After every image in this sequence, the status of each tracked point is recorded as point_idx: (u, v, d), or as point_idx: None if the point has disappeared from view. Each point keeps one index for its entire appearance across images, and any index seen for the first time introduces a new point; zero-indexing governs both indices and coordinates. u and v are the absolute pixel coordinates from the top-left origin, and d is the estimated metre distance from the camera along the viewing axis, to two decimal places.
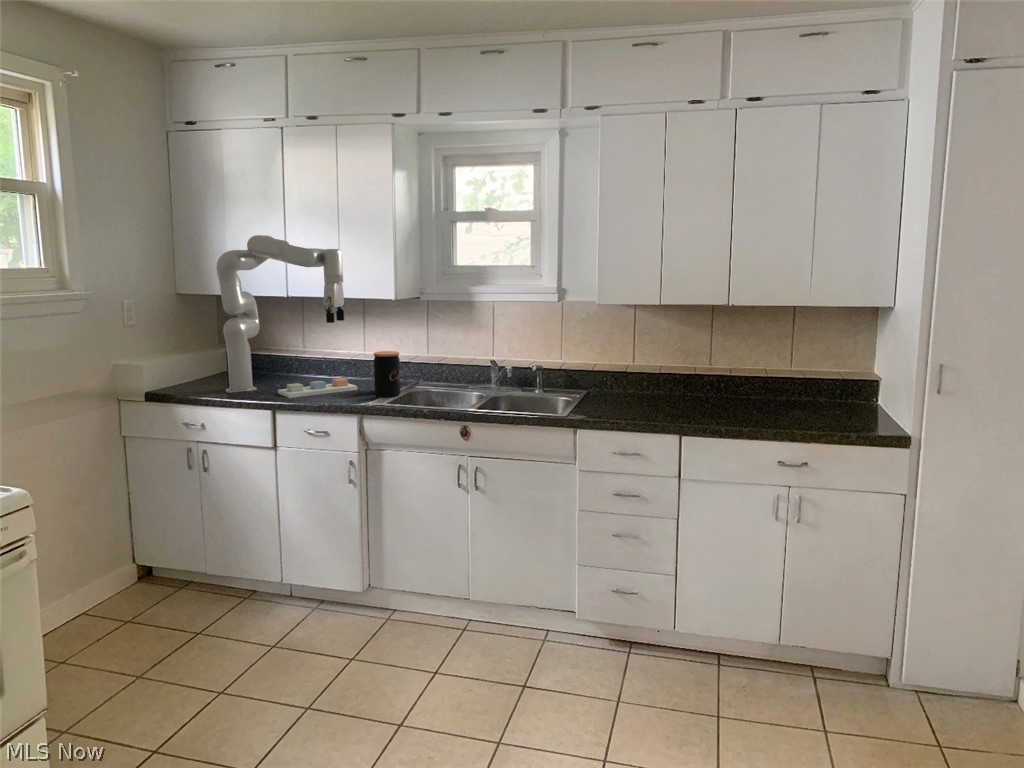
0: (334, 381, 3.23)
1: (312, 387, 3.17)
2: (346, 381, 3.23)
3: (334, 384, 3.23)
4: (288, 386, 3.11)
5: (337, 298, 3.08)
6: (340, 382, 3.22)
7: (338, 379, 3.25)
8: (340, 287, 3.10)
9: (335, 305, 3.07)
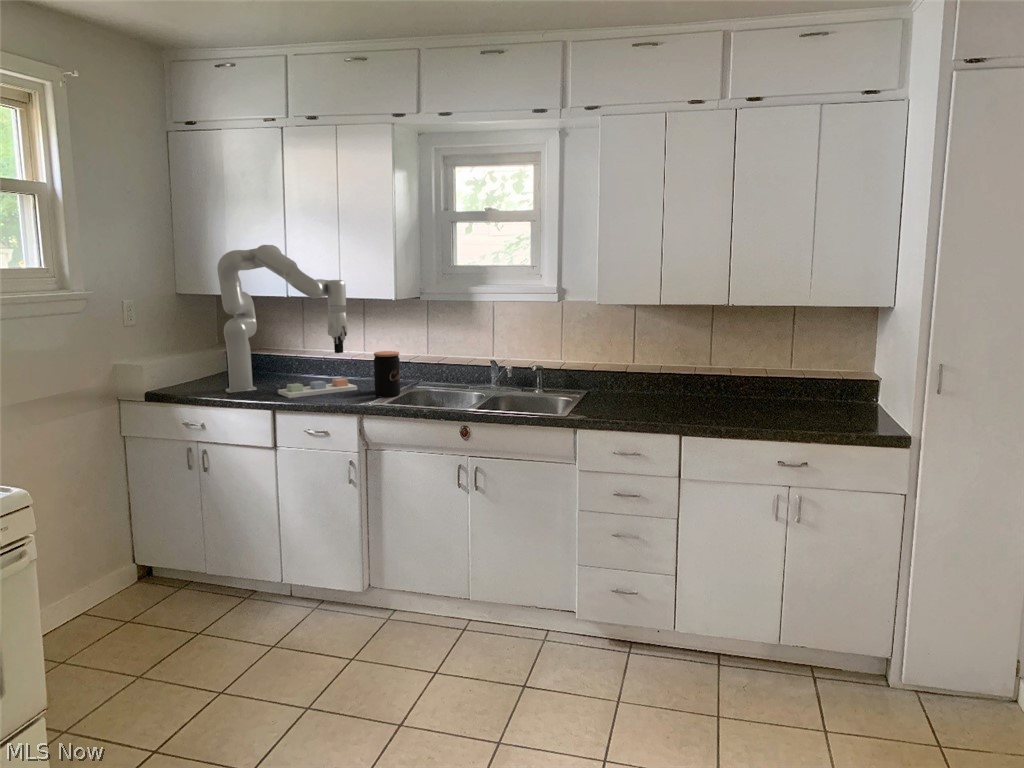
0: (334, 381, 3.23)
1: (312, 387, 3.17)
2: (346, 381, 3.23)
3: (334, 384, 3.23)
4: (288, 386, 3.11)
5: None
6: (340, 382, 3.22)
7: (338, 379, 3.25)
8: None
9: None
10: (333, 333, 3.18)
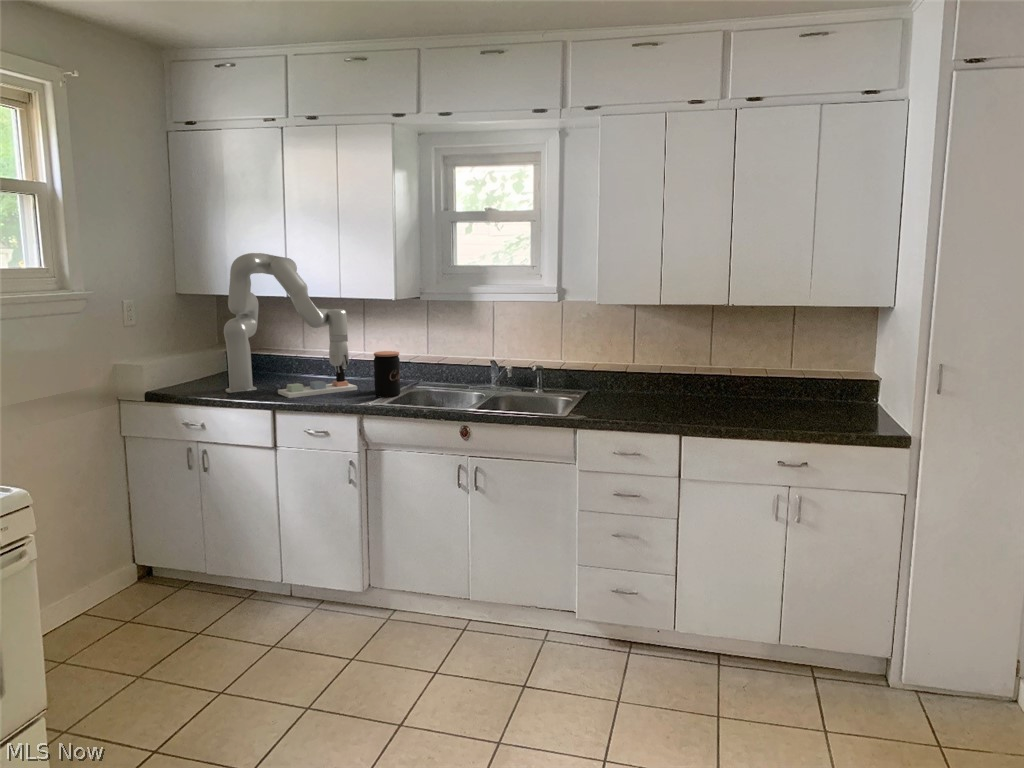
0: (334, 383, 3.23)
1: (312, 387, 3.17)
2: (346, 383, 3.24)
3: None
4: (288, 386, 3.11)
5: None
6: (340, 384, 3.22)
7: None
8: None
9: None
10: (335, 362, 3.20)
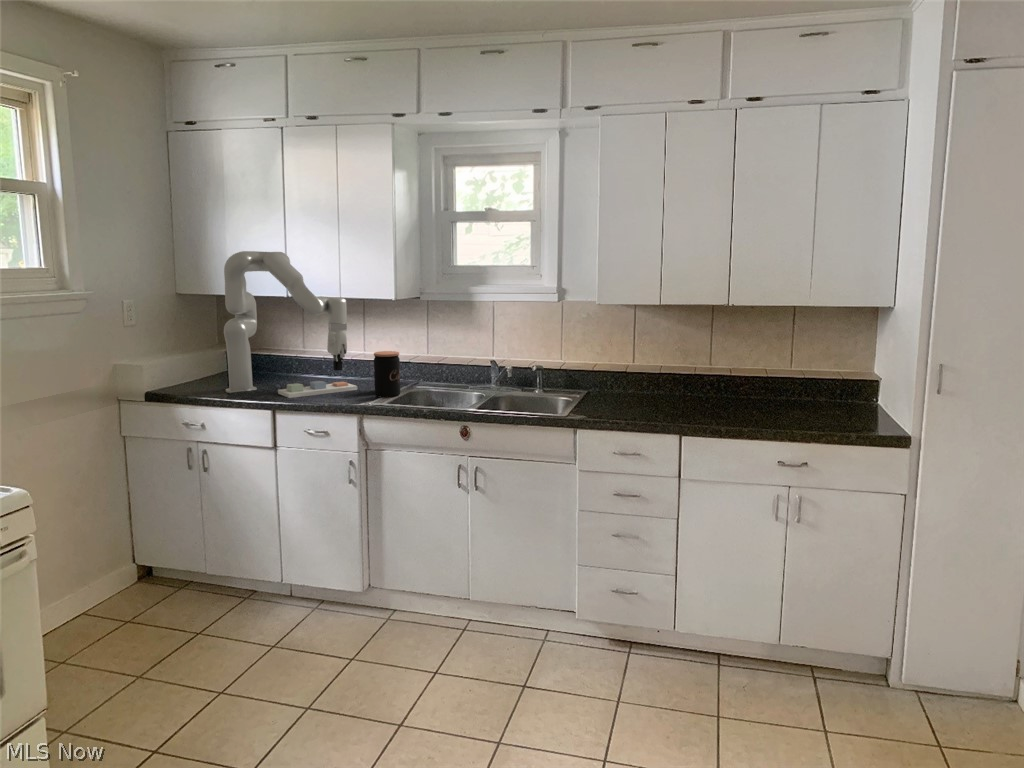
0: (334, 384, 3.23)
1: (312, 387, 3.17)
2: (346, 384, 3.24)
3: None
4: (288, 386, 3.11)
5: None
6: (340, 385, 3.22)
7: (338, 382, 3.25)
8: None
9: None
10: (333, 351, 3.19)
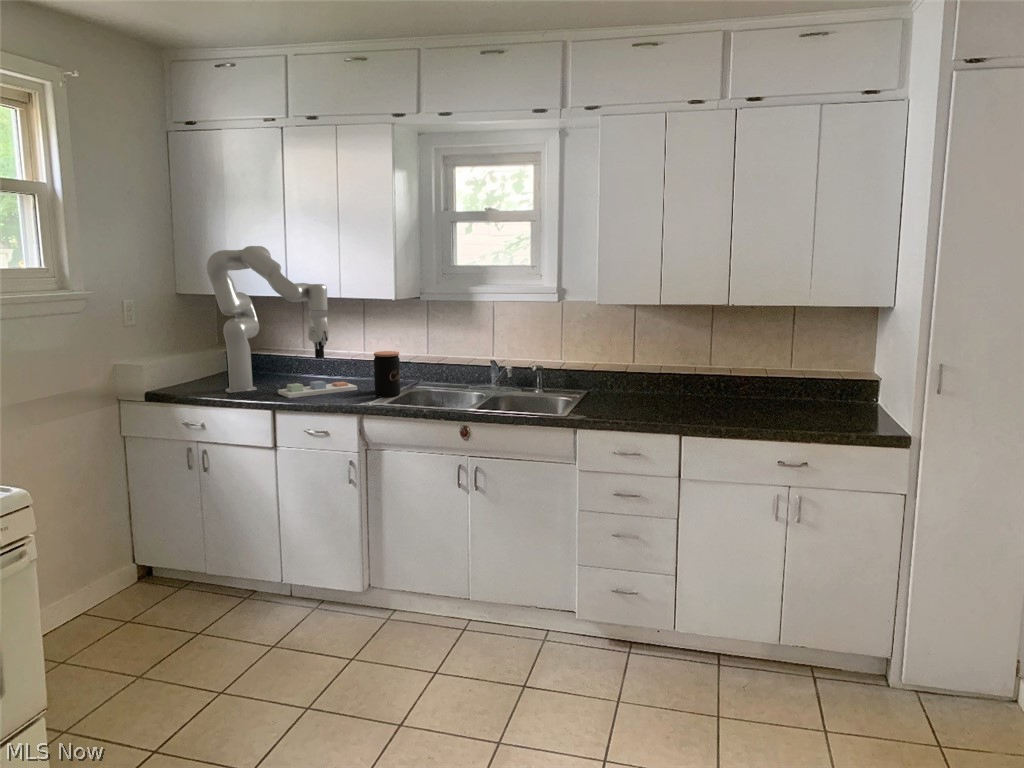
0: (334, 384, 3.23)
1: (312, 387, 3.17)
2: (346, 384, 3.24)
3: None
4: (288, 386, 3.11)
5: None
6: (340, 385, 3.22)
7: (338, 382, 3.25)
8: None
9: None
10: (314, 338, 3.13)
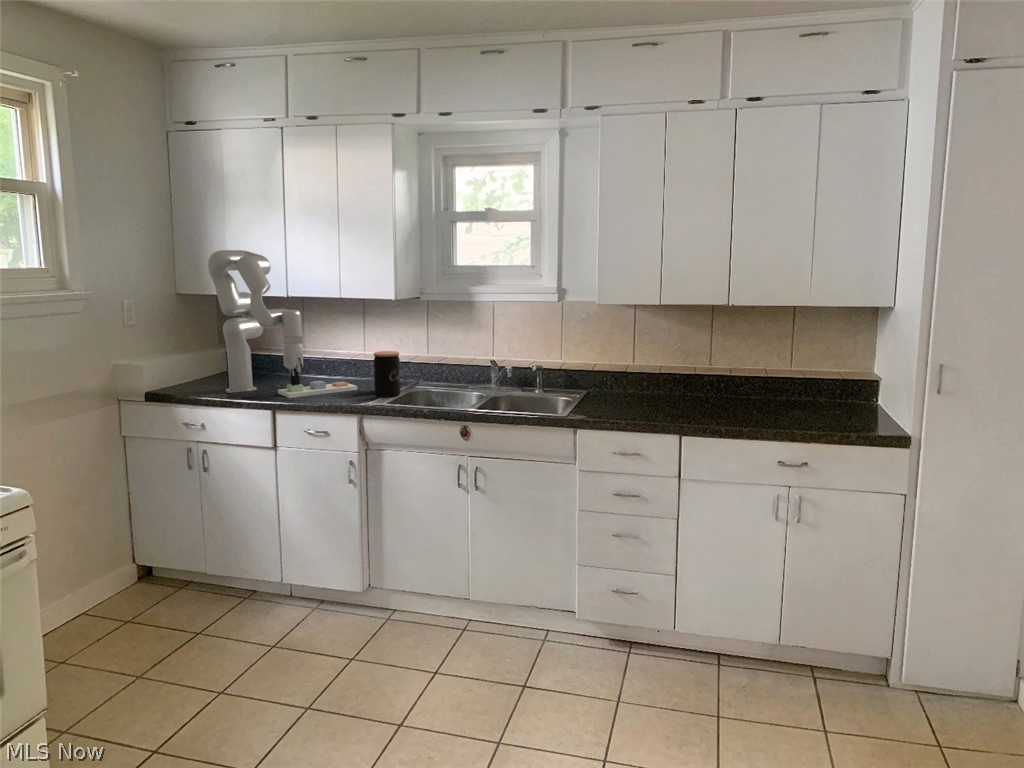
0: (334, 384, 3.23)
1: (312, 387, 3.17)
2: (346, 384, 3.24)
3: None
4: (288, 386, 3.11)
5: None
6: (340, 385, 3.22)
7: (338, 382, 3.25)
8: None
9: None
10: (289, 365, 3.08)
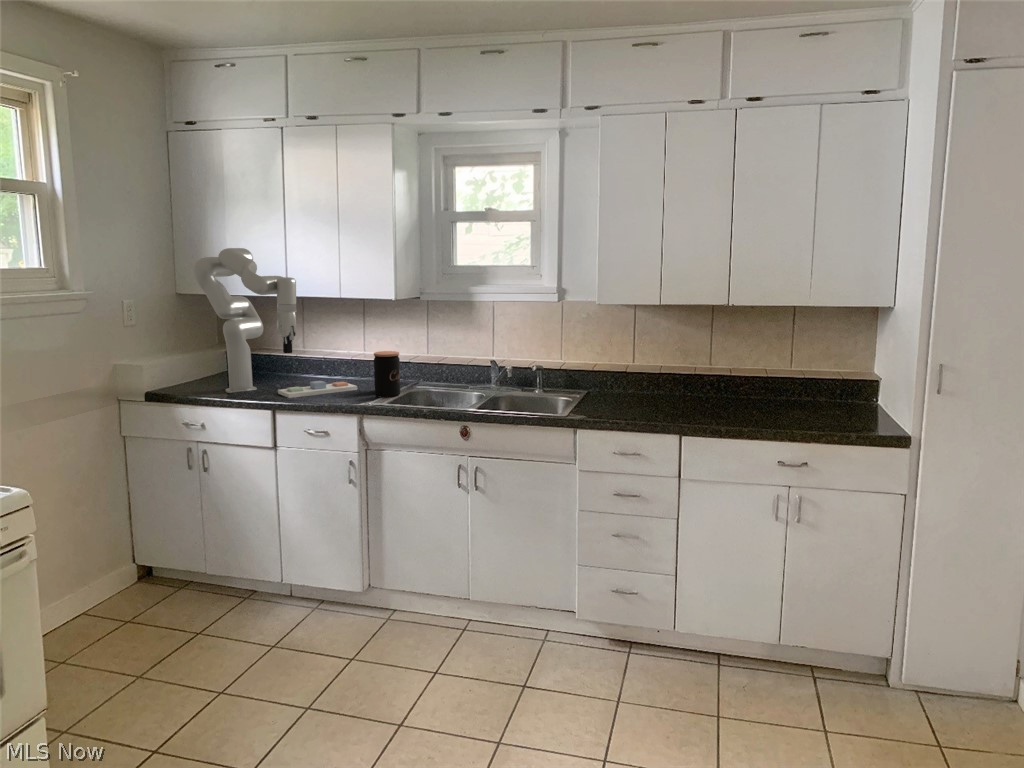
0: (334, 384, 3.23)
1: (312, 387, 3.17)
2: (346, 384, 3.24)
3: None
4: (288, 389, 3.12)
5: None
6: (340, 385, 3.22)
7: (338, 382, 3.25)
8: None
9: None
10: (282, 332, 3.07)
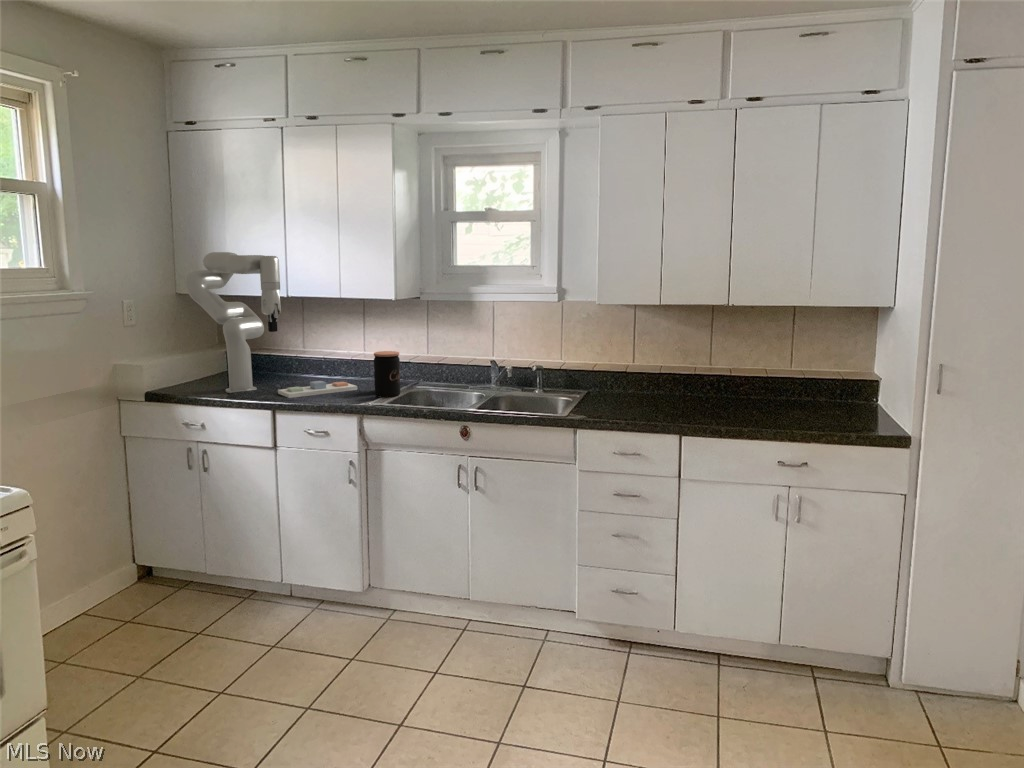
0: (334, 384, 3.23)
1: (312, 387, 3.17)
2: (346, 384, 3.24)
3: None
4: (288, 389, 3.12)
5: None
6: (340, 385, 3.22)
7: (338, 382, 3.25)
8: None
9: None
10: (266, 311, 3.07)
